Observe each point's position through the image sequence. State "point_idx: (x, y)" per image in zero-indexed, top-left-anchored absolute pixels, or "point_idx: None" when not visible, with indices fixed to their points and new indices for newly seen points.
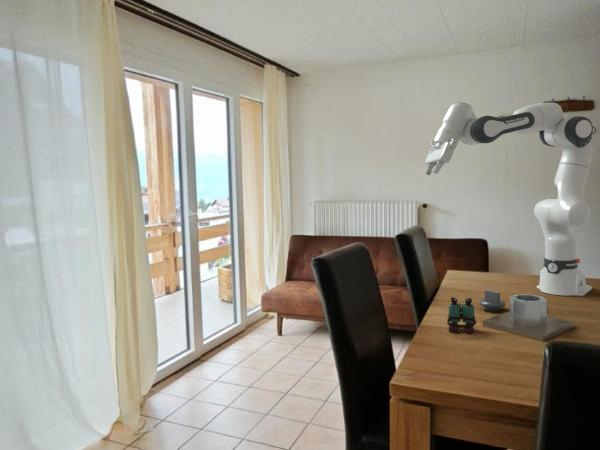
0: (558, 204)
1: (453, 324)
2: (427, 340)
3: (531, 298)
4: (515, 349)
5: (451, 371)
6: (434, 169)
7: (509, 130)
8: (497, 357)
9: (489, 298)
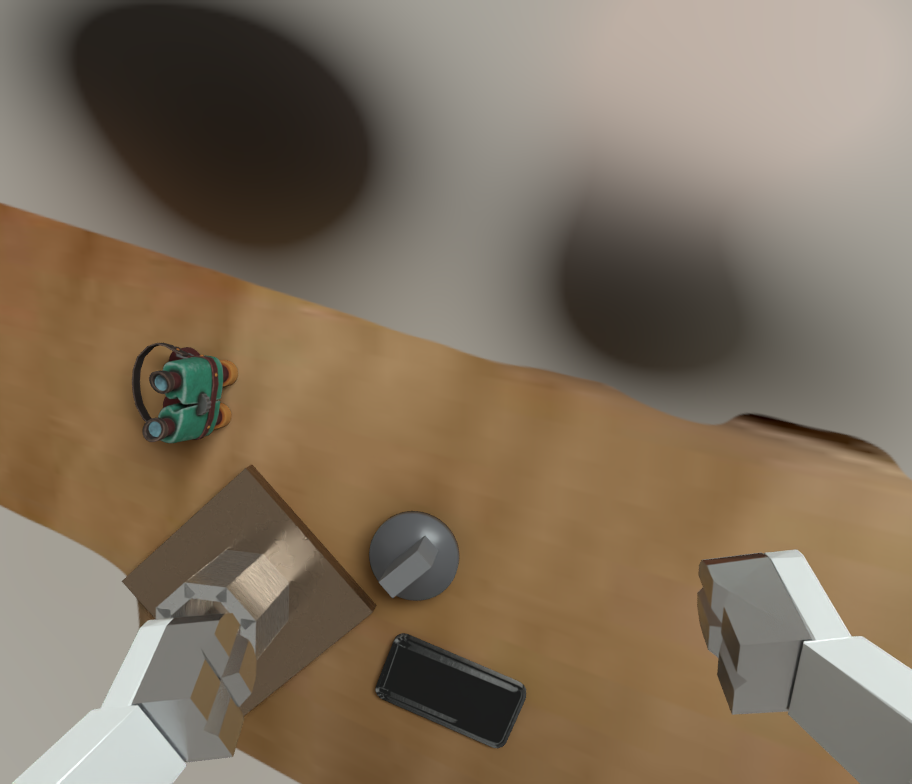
0: None
1: (137, 357)
2: (111, 269)
3: None
4: (69, 487)
5: None
6: (146, 667)
7: None
8: (15, 426)
9: (407, 552)
